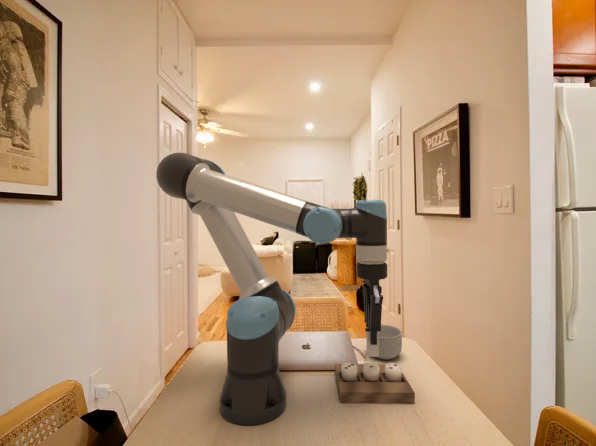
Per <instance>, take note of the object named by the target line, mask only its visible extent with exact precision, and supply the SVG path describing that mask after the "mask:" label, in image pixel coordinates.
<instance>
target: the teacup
mask: <svg viewBox="0 0 596 446" xmlns="http://www.w3.org/2000/svg"><path fill="white" fill-rule="evenodd" d="M402 335H403V331H402V329H400V328H399V327H396V326H394V325H390V324H381V331H379V357H376V358H377V359H379V360H393V359H394V358H396V357H397V356H399V355H400V354H401V352H402V348H403V346H402V345H403V339H402ZM365 338H366V339H365V340H366V341H367V332H366V331H365Z"/></svg>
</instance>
